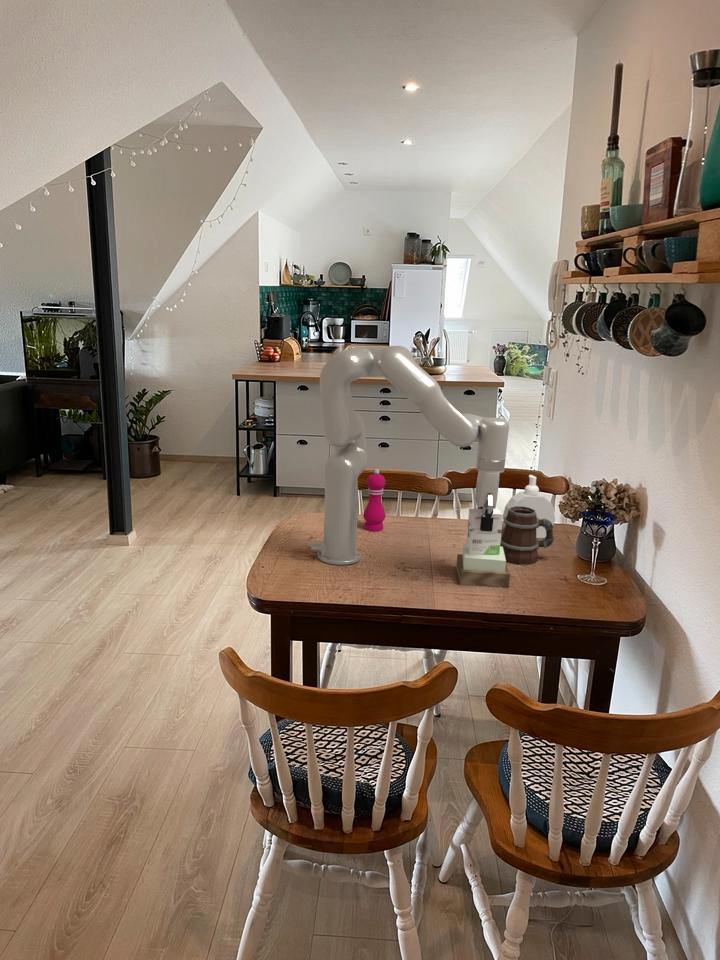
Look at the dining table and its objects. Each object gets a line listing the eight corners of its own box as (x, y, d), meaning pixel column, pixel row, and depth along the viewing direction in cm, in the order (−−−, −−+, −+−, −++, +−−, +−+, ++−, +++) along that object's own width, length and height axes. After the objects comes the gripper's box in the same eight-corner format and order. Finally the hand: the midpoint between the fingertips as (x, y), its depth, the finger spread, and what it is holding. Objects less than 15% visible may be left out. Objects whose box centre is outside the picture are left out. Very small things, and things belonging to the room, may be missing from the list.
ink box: (495, 548, 205) (499, 508, 202) (499, 555, 200) (503, 514, 197) (465, 547, 205) (468, 507, 201) (468, 554, 200) (471, 513, 197)
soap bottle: (547, 533, 244) (553, 475, 239) (553, 538, 239) (560, 479, 234) (500, 533, 242) (506, 474, 237) (505, 538, 237) (511, 478, 232)
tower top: (463, 569, 199) (464, 557, 198) (462, 555, 209) (463, 543, 208) (504, 573, 198) (506, 560, 197) (501, 558, 208) (502, 546, 207)
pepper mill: (361, 530, 238) (363, 471, 233) (364, 524, 245) (367, 465, 239) (383, 533, 237) (386, 472, 231) (386, 526, 244) (389, 467, 238)
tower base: (460, 586, 198) (461, 571, 197) (456, 568, 211) (457, 554, 210) (508, 589, 198) (510, 574, 197) (501, 571, 211) (503, 556, 209)
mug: (498, 562, 216) (503, 514, 212) (497, 548, 227) (502, 502, 223) (553, 568, 214) (559, 519, 210) (549, 553, 225) (555, 507, 221)
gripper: (473, 456, 205) (467, 514, 209) (479, 471, 188) (473, 534, 193) (500, 457, 204) (493, 516, 209) (509, 473, 188) (501, 536, 192)
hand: (483, 525), depth 201 cm, fingers open, 9 cm apart
